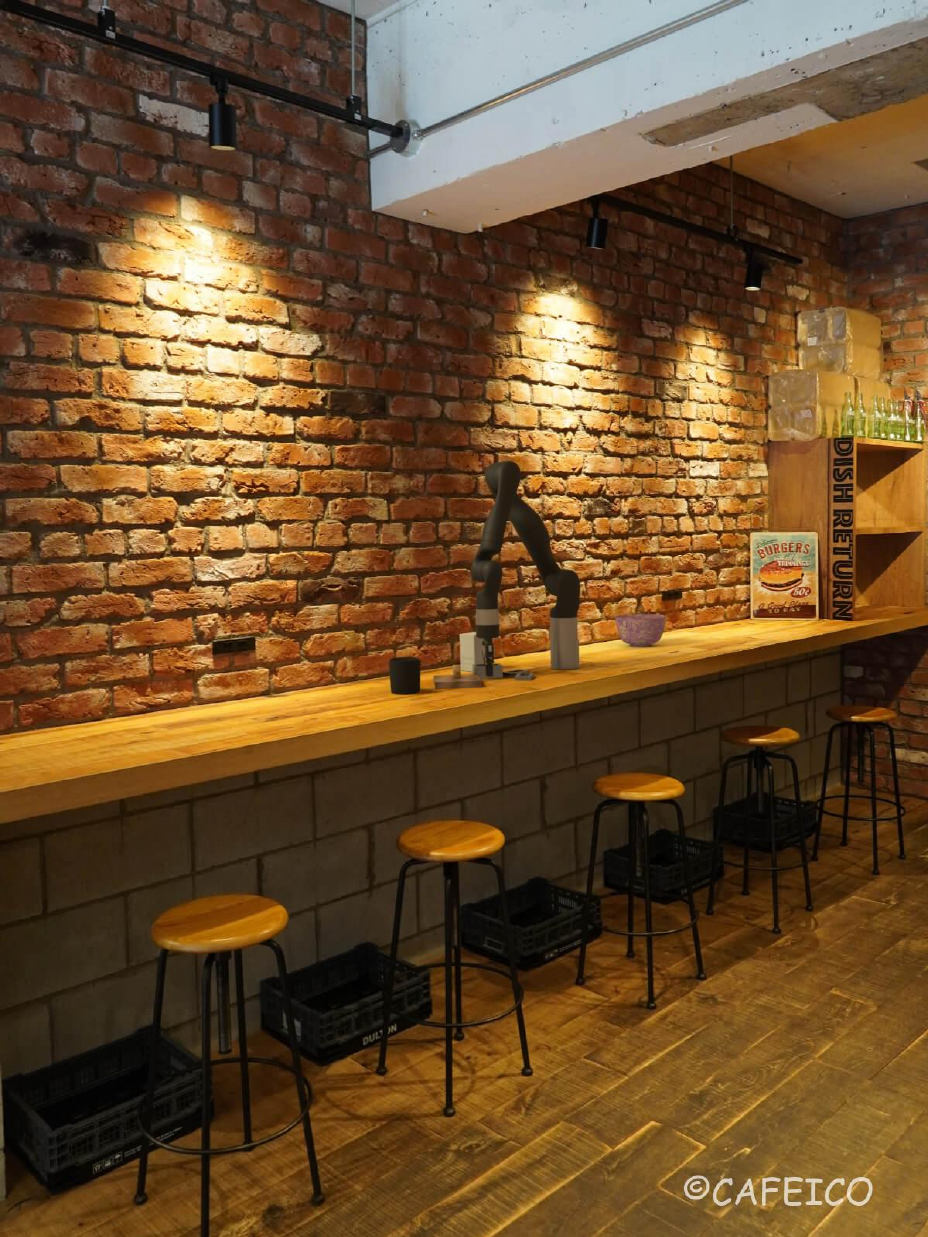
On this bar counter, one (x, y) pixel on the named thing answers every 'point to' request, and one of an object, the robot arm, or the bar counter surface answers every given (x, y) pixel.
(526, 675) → the slack link
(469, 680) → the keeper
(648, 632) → the purple bowl
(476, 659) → the supplement box
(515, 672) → the slack link
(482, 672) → the end link
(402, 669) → the pen holder
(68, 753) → the bar counter surface
